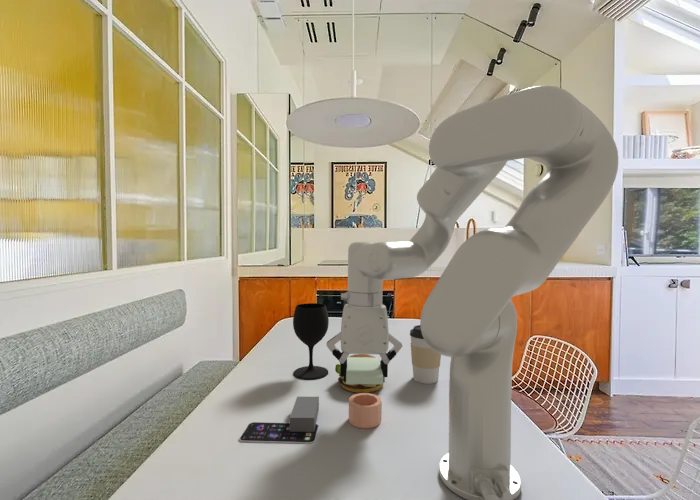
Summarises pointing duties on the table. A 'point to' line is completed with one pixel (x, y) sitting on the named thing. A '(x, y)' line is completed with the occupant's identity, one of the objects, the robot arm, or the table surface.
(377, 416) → the ramekin
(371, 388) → the food
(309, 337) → the wine glass
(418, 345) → the coffee cup
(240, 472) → the table surface
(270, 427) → the smartphone
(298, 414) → the tall grey rectangular block
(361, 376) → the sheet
